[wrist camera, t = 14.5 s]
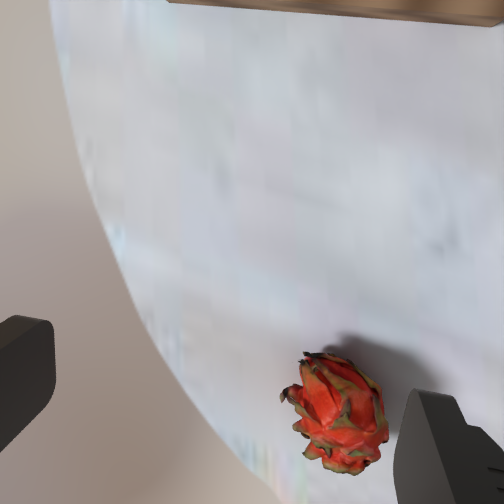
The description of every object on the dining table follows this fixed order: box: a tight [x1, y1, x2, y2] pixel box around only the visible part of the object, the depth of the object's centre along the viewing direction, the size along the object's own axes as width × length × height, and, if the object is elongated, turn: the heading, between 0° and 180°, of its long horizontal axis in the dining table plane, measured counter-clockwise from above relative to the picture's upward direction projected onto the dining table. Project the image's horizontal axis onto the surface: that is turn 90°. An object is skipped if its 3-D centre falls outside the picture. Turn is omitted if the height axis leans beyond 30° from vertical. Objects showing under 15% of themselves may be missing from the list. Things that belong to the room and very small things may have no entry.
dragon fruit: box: [280, 351, 389, 476], centre depth 37 cm, size 8×8×12 cm
